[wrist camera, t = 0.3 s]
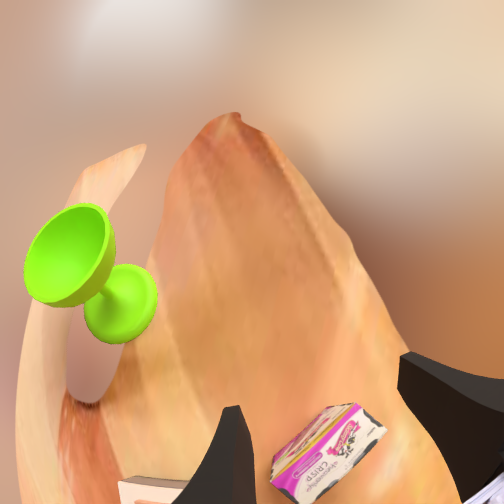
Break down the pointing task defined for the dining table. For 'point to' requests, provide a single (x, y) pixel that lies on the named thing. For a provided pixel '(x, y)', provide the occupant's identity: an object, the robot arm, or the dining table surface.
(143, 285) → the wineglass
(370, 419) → the candy bar box
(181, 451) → the dining table surface
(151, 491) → the lid
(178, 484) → the box
